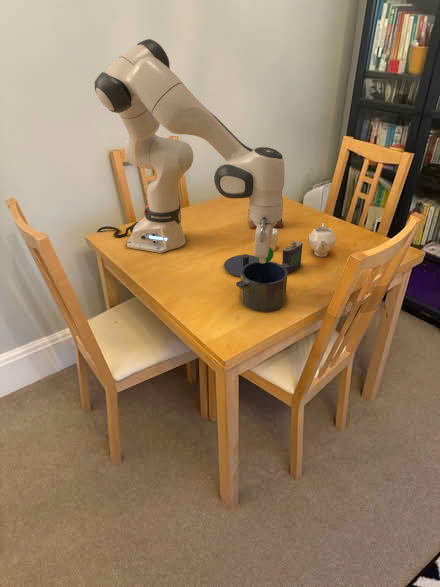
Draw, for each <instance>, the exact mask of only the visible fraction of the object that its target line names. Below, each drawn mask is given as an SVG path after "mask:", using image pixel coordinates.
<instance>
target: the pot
mask: <svg viewBox="0 0 440 587" xmlns="http://www.w3.org/2000/svg"><path fill="white" fill-rule="evenodd" d="M290 267H291V266H290V265H288V264H286V263H284V264H282V263H281V264H280V263H278V262H274V261H272V260H271V261H269V262H266V263H260V262H259V261H256V262H251V263H249V264H246V265H245V266H244V267H243V268H242V270H241V277H240V280H239V281H237V282H235V286H236V287H237V288H238V289H240V301H241V304H242V305H243V306H244V307H245V308H247V309H249V310H251V311H255V312H260V313H261V312H262V313H266V312H267V313H269V312H274V311H276V310H279V309H281V308H282V307H283V306H284V305H285V303H286V300H287V284H288V275H289V274H288V271H287V270H289V269H290ZM287 274H288V275H287Z"/></svg>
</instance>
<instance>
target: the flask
mask: <svg viewBox="0 0 440 587" xmlns="http://www.w3.org/2000/svg"><path fill="white" fill-rule="evenodd" d="M291 242H292V243H291V244H290V245H289V246H285V247H284V248H282V259H281V260H282V261H281V265H282V264H284V263H286V264H288V265H290V266H291V267H290V269H289V270H287V271H288V274H287V276H288V275H291V274H292V273H294V272H296V271H297V270H298V269H299V268H301V266H302V254H303V242H302V241H299V240H297V241H295V240H291Z"/></svg>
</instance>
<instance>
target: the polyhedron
mask: <svg viewBox="0 0 440 587" xmlns="http://www.w3.org/2000/svg"><path fill="white" fill-rule="evenodd" d="M256 258H257V259H258V261H259V258H258V257H256ZM273 258H274V251H273V250H272V249H271V248H269V254H268V257H267V258H266V262H269V261H271V262H272V259H273Z"/></svg>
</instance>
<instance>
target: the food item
mask: <svg viewBox="0 0 440 587" xmlns="http://www.w3.org/2000/svg"><path fill="white" fill-rule="evenodd" d="M247 211H248V214H247V218H248V223H249V226H250V228H251V229H256V228H257V226H256V225H255V224H254V221H252V220H251V219H250V218H249V208H248V209H247ZM283 211H284V210H283V208H282V212H283ZM273 228H283V217H282V218H281V220H279V221H278V222H277V224H276V225H275V226H274V227H273Z"/></svg>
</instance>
